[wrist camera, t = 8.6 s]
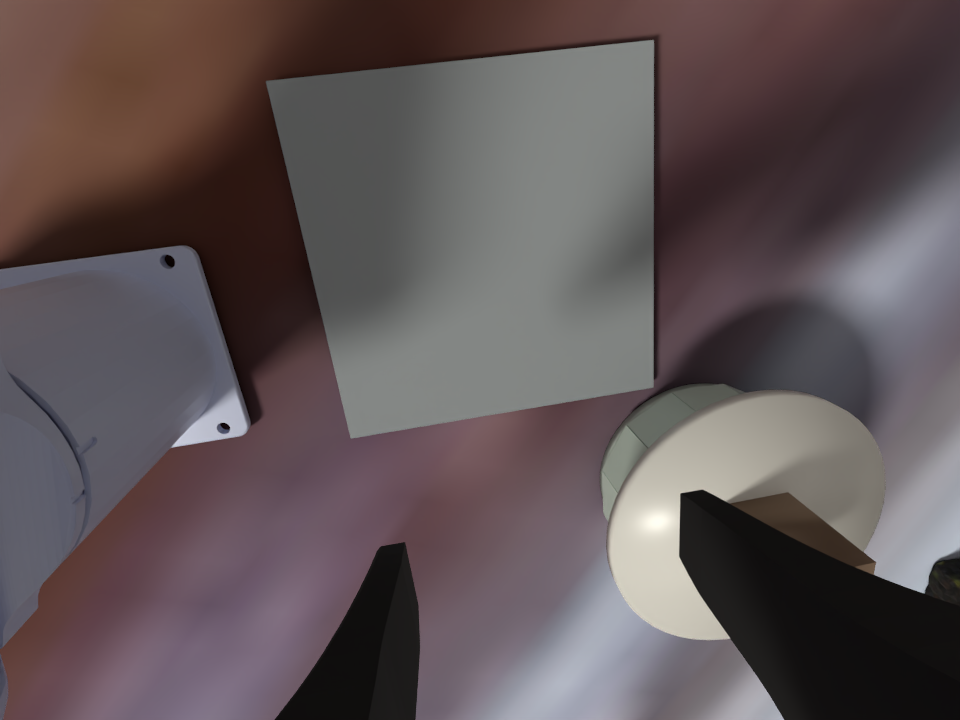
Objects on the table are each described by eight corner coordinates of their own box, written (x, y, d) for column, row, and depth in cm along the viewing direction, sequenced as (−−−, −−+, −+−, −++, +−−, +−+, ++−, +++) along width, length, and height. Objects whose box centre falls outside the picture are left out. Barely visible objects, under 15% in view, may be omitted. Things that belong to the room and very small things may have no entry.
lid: (610, 651, 22) (658, 762, 18) (601, 417, 18) (659, 487, 14) (852, 600, 23) (952, 692, 19) (894, 366, 19) (1033, 417, 15)
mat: (352, 433, 22) (350, 438, 22) (269, 83, 17) (265, 81, 17) (648, 383, 23) (653, 387, 23) (647, 43, 18) (653, 39, 18)
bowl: (600, 557, 26) (636, 627, 22) (592, 397, 23) (633, 443, 19) (765, 525, 27) (830, 587, 23) (780, 366, 24) (860, 403, 20)
